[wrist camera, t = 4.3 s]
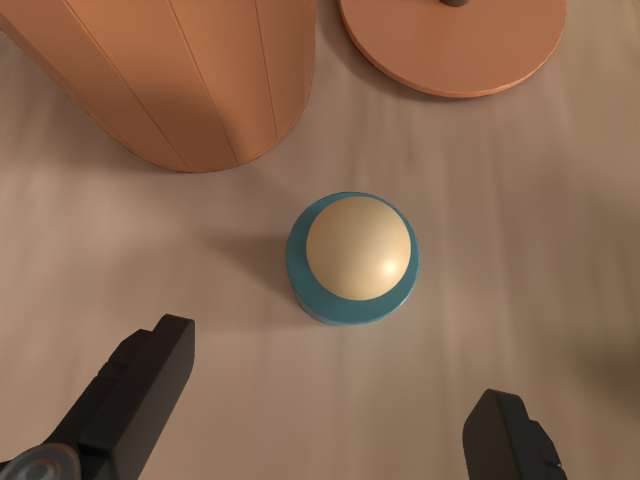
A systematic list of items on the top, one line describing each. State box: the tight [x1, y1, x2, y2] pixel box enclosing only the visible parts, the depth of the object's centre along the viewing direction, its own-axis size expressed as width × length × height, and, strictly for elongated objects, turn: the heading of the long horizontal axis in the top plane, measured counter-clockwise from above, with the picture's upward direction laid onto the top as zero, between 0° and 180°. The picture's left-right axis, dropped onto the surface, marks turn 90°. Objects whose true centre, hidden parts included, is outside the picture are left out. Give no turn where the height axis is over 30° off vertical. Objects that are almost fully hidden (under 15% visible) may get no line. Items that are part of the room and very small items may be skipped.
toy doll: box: [286, 192, 420, 325], centre depth 15 cm, size 5×5×10 cm
